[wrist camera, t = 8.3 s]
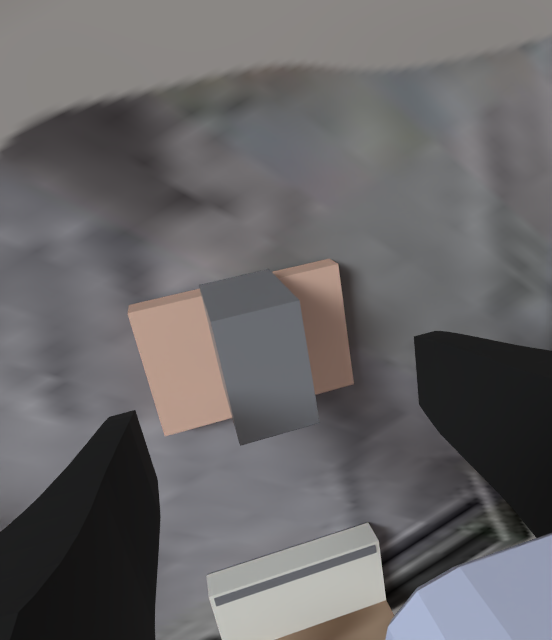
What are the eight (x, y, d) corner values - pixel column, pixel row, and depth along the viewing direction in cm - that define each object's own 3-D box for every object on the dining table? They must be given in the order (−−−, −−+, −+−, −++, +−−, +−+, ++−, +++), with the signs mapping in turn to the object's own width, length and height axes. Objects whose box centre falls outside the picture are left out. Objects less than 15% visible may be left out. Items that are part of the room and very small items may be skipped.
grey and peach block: (327, 248, 18) (384, 279, 14) (344, 373, 20) (400, 438, 16) (126, 294, 17) (114, 345, 12) (164, 422, 19) (166, 508, 14)
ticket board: (368, 522, 23) (396, 571, 21) (378, 602, 25) (406, 658, 23) (206, 575, 22) (213, 634, 19) (230, 655, 24) (240, 720, 21)
